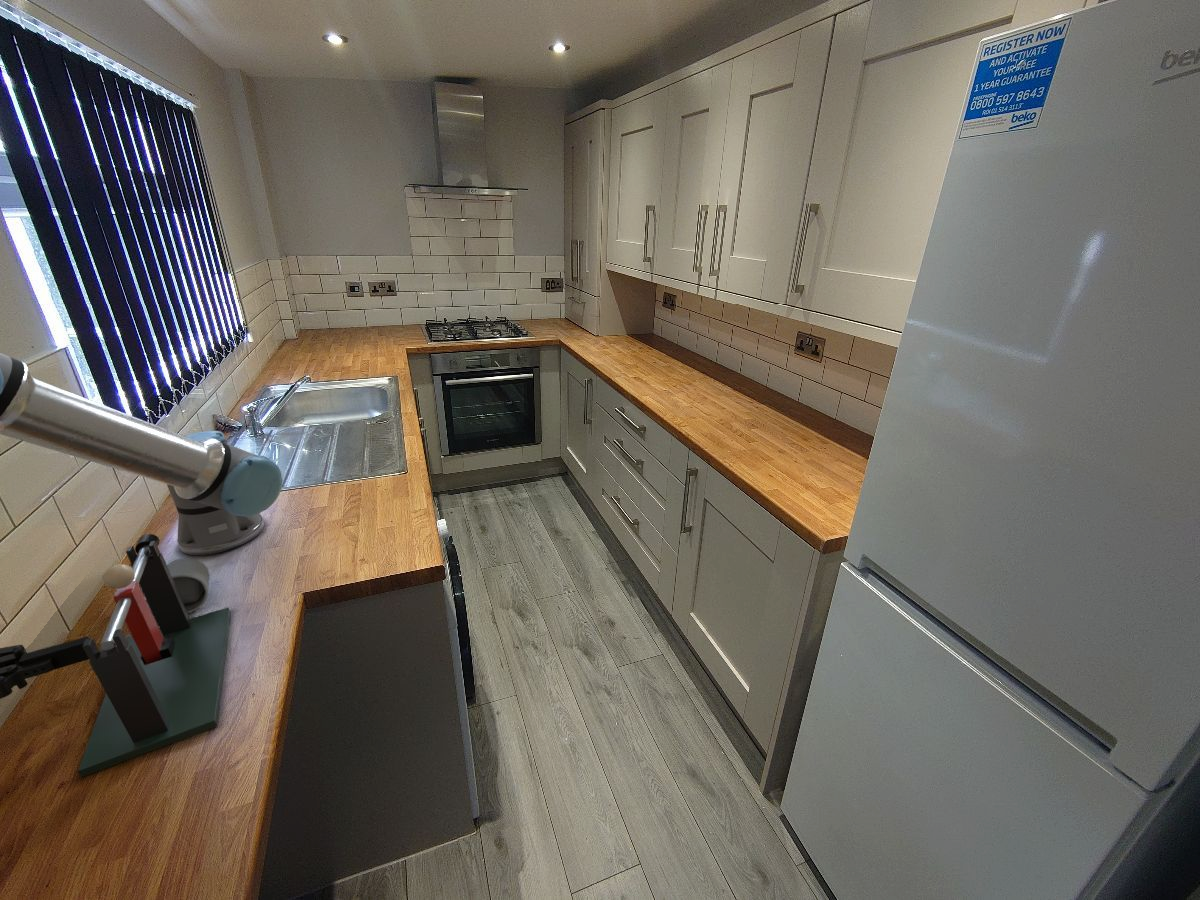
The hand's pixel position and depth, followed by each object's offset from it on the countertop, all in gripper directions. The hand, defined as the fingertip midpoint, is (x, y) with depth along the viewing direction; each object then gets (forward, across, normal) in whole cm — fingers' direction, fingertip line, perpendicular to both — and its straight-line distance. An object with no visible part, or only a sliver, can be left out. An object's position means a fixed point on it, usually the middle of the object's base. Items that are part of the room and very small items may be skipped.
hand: (89, 647), depth 71 cm
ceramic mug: (+5, -20, -10) cm, 23 cm away
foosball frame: (+6, 0, -10) cm, 11 cm away
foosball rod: (+6, -2, -4) cm, 8 cm away
